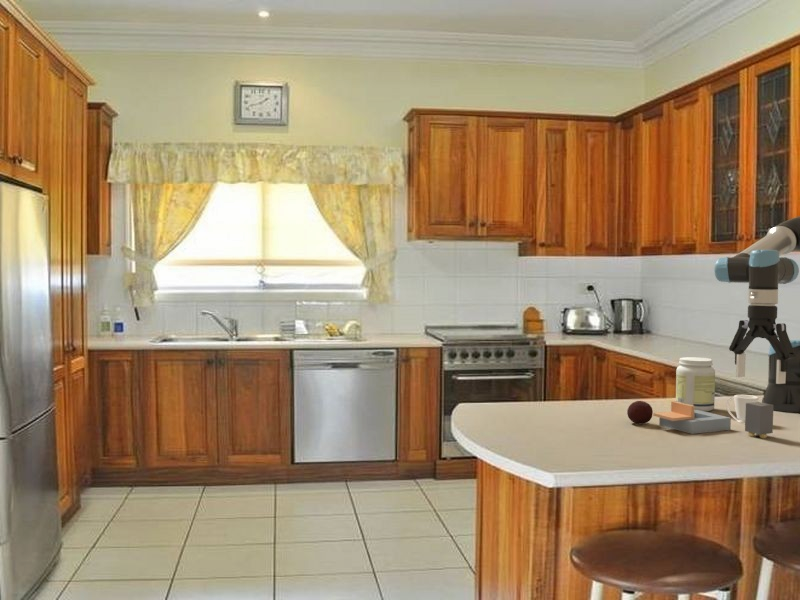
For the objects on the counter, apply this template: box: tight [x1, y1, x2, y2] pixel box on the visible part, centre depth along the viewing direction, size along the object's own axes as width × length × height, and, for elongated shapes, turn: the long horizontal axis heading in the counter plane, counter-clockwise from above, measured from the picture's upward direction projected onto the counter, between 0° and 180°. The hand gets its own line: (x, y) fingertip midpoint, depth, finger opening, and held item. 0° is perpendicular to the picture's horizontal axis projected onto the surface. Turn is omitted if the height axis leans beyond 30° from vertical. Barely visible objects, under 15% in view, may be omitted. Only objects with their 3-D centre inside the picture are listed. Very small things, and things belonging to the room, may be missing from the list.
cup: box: [726, 394, 759, 424], centre depth 237 cm, size 7×10×8 cm
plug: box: [744, 401, 774, 439], centre depth 217 cm, size 5×5×9 cm
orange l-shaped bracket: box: [652, 400, 695, 421], centre depth 225 cm, size 8×8×4 cm
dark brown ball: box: [626, 400, 654, 425], centre depth 232 cm, size 7×8×7 cm
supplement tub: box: [675, 356, 716, 412], centre depth 257 cm, size 12×12×17 cm
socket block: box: [659, 410, 732, 435], centre depth 228 cm, size 15×13×4 cm
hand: (759, 380), depth 216 cm, fingers open, 13 cm apart
